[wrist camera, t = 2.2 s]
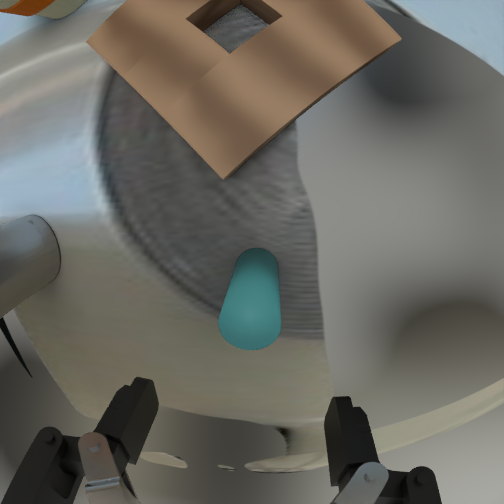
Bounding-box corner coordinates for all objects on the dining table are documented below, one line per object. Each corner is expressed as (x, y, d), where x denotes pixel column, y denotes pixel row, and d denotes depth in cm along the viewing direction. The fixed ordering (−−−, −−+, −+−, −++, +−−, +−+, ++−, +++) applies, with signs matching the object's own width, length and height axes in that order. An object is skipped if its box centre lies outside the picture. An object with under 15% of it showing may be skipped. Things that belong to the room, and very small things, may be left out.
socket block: (229, 176, 24) (222, 179, 21) (105, 52, 20) (85, 41, 17) (385, 52, 19) (401, 38, 15) (246, -54, 15) (243, -74, 11)
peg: (255, 294, 28) (247, 359, 18) (227, 265, 27) (205, 321, 18) (286, 269, 27) (293, 328, 17) (258, 239, 26) (251, 286, 17)
